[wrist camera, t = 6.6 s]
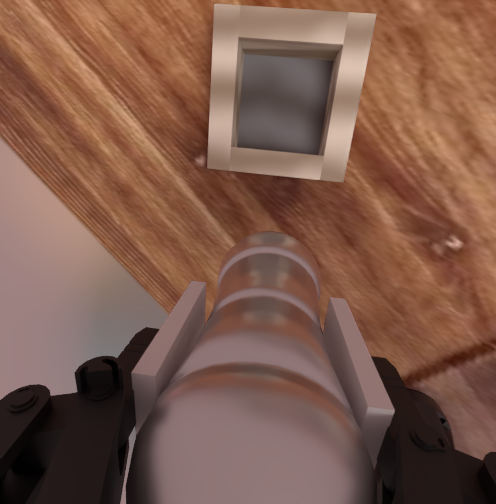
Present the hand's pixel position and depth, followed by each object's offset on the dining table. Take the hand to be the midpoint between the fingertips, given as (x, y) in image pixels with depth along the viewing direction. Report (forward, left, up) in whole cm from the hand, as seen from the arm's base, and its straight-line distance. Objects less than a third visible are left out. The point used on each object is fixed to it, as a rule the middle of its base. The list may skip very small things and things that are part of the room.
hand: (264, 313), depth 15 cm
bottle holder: (+13, +1, -26) cm, 29 cm away
